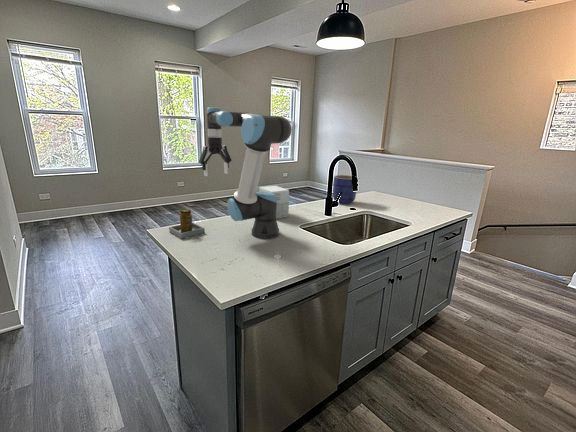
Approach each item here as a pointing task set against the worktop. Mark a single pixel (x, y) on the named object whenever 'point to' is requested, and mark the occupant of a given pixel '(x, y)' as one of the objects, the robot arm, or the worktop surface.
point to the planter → (343, 189)
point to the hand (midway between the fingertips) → (216, 174)
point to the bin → (196, 231)
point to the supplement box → (279, 199)
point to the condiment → (185, 220)
